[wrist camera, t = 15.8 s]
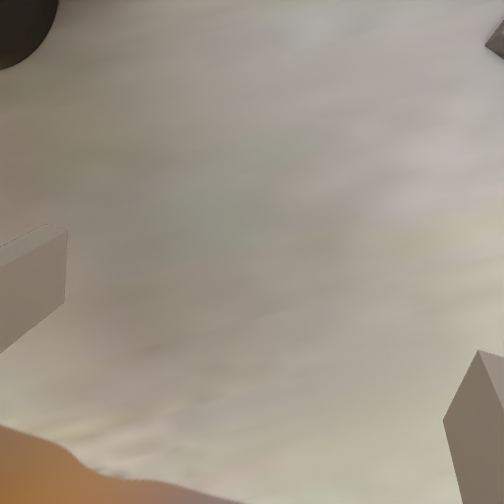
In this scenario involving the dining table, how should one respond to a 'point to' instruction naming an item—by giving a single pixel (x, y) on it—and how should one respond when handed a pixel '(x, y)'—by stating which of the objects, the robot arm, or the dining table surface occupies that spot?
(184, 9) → the dining table surface
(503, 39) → the parts tray
